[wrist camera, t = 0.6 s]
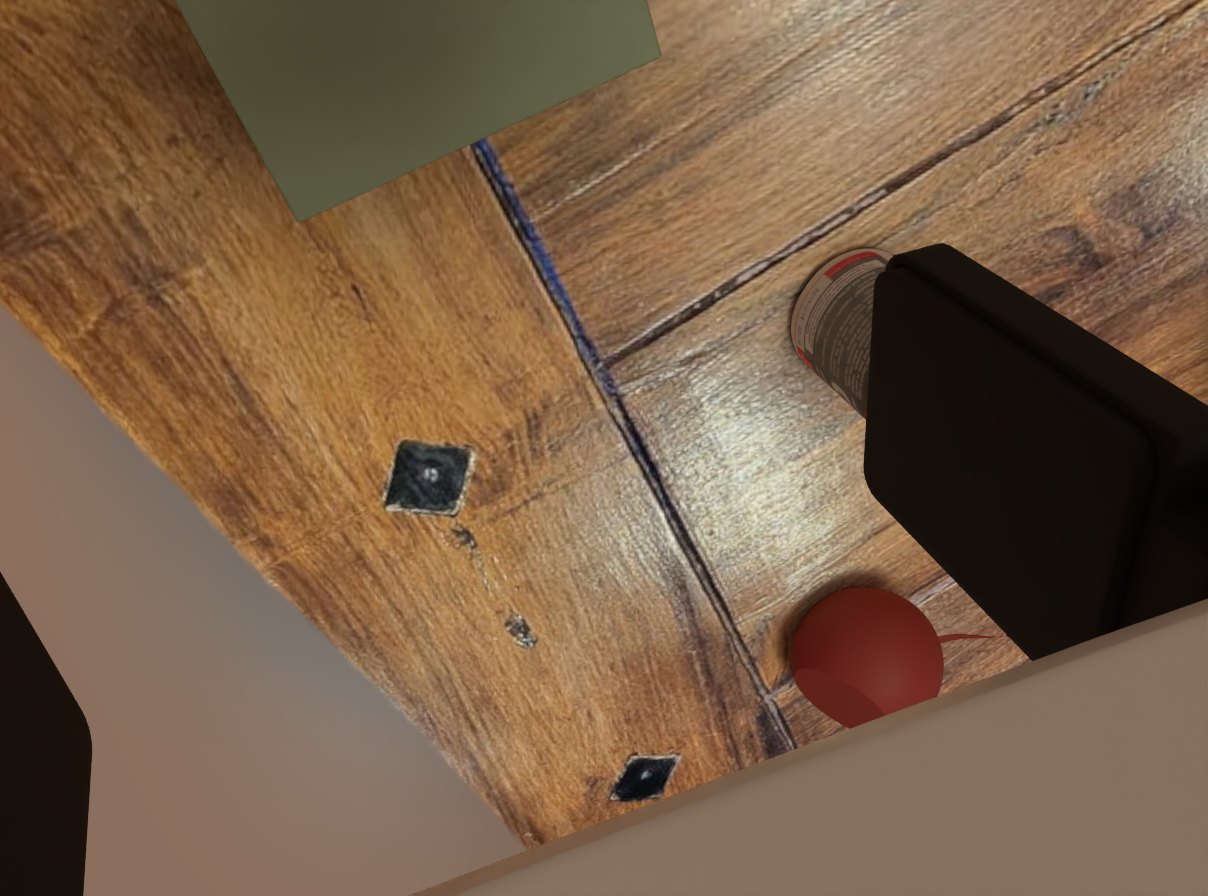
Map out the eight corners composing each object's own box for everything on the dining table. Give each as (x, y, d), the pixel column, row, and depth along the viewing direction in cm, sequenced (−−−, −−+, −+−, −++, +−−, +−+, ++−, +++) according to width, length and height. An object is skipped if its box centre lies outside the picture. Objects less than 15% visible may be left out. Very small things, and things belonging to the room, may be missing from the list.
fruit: (859, 616, 49) (1028, 674, 44) (798, 715, 47) (969, 788, 41) (826, 533, 45) (1007, 586, 40) (758, 636, 43) (941, 706, 37)
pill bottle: (770, 365, 37) (903, 499, 30) (813, 237, 34) (969, 351, 28) (878, 372, 39) (1027, 500, 32) (927, 252, 36) (1097, 362, 30)
